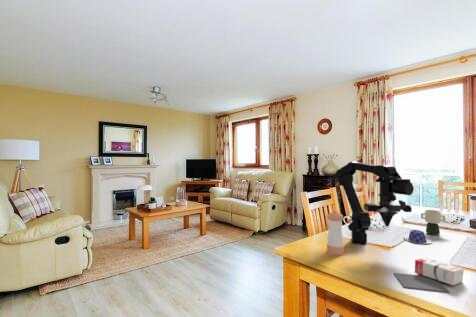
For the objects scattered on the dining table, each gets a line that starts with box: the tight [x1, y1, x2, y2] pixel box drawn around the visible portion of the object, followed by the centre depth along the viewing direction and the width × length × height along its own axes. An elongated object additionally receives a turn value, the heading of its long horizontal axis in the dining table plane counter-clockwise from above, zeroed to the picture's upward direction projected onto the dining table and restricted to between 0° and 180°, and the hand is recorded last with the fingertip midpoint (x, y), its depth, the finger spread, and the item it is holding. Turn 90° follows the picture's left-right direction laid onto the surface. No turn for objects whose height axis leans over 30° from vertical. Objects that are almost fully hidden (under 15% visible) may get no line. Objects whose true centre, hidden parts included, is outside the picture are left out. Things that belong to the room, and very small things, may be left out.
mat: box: [393, 272, 450, 294], centre depth 89 cm, size 13×10×1 cm
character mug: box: [420, 209, 446, 235], centre depth 145 cm, size 11×7×13 cm, turn 49°
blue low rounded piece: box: [404, 229, 432, 245], centre depth 134 cm, size 12×12×5 cm
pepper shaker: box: [326, 210, 345, 256], centre depth 118 cm, size 7×7×19 cm
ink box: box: [414, 257, 464, 286], centre depth 92 cm, size 8×5×12 cm
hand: (386, 226), depth 118 cm, fingers closed
